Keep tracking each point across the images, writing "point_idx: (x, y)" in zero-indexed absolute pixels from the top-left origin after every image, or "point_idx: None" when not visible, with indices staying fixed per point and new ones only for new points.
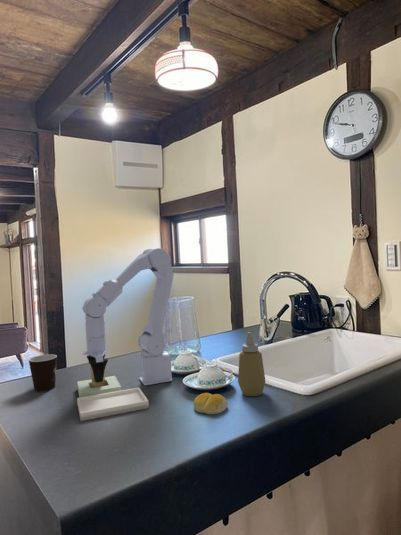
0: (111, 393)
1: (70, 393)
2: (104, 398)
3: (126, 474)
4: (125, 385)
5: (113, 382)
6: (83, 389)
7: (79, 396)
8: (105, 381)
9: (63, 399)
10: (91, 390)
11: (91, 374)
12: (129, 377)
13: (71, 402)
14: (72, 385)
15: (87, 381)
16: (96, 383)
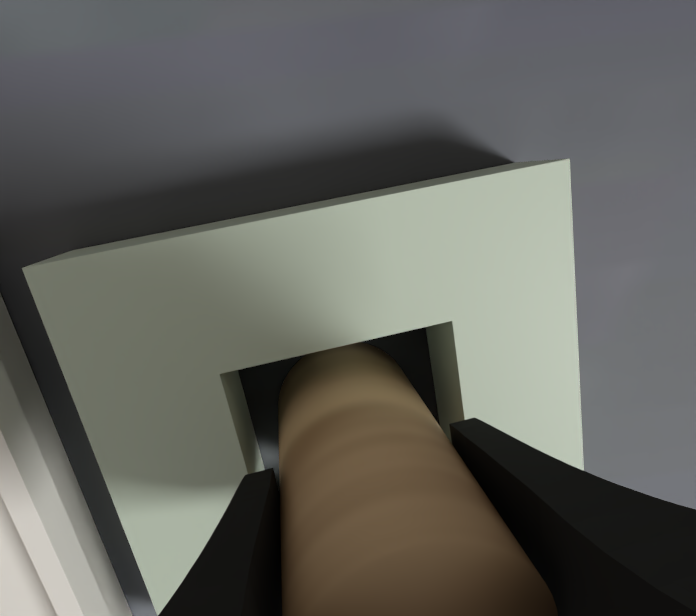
0: (57, 599)
1: (405, 90)
2: (5, 520)
3: None
4: None
5: None
6: (193, 292)
7: (217, 222)
8: None
9: (213, 21)
10: (124, 402)
11: (358, 462)
12: None
13: (80, 142)
14: (676, 82)
15: (513, 301)
16: (282, 458)
